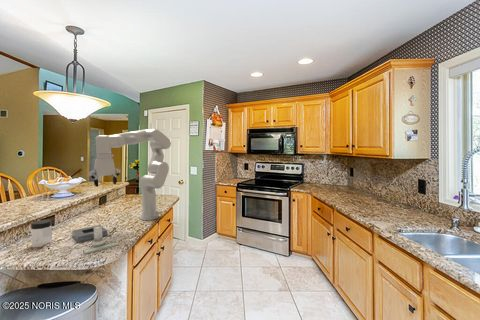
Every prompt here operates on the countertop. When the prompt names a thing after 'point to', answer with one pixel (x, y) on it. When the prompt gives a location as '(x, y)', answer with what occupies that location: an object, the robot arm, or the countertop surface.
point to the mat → (99, 248)
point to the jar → (41, 233)
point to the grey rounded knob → (98, 237)
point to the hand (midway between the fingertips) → (105, 185)
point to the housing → (87, 234)
